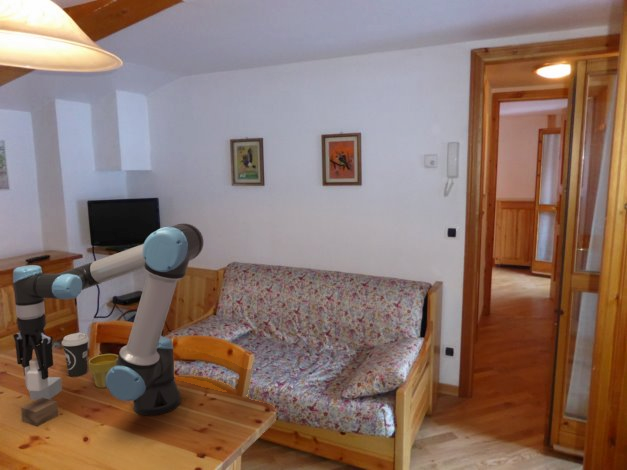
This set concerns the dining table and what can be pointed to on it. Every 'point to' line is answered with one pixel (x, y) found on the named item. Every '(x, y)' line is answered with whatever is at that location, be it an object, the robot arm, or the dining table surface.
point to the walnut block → (39, 411)
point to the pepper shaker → (33, 376)
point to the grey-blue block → (48, 389)
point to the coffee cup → (76, 353)
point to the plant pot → (101, 367)
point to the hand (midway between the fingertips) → (37, 386)
